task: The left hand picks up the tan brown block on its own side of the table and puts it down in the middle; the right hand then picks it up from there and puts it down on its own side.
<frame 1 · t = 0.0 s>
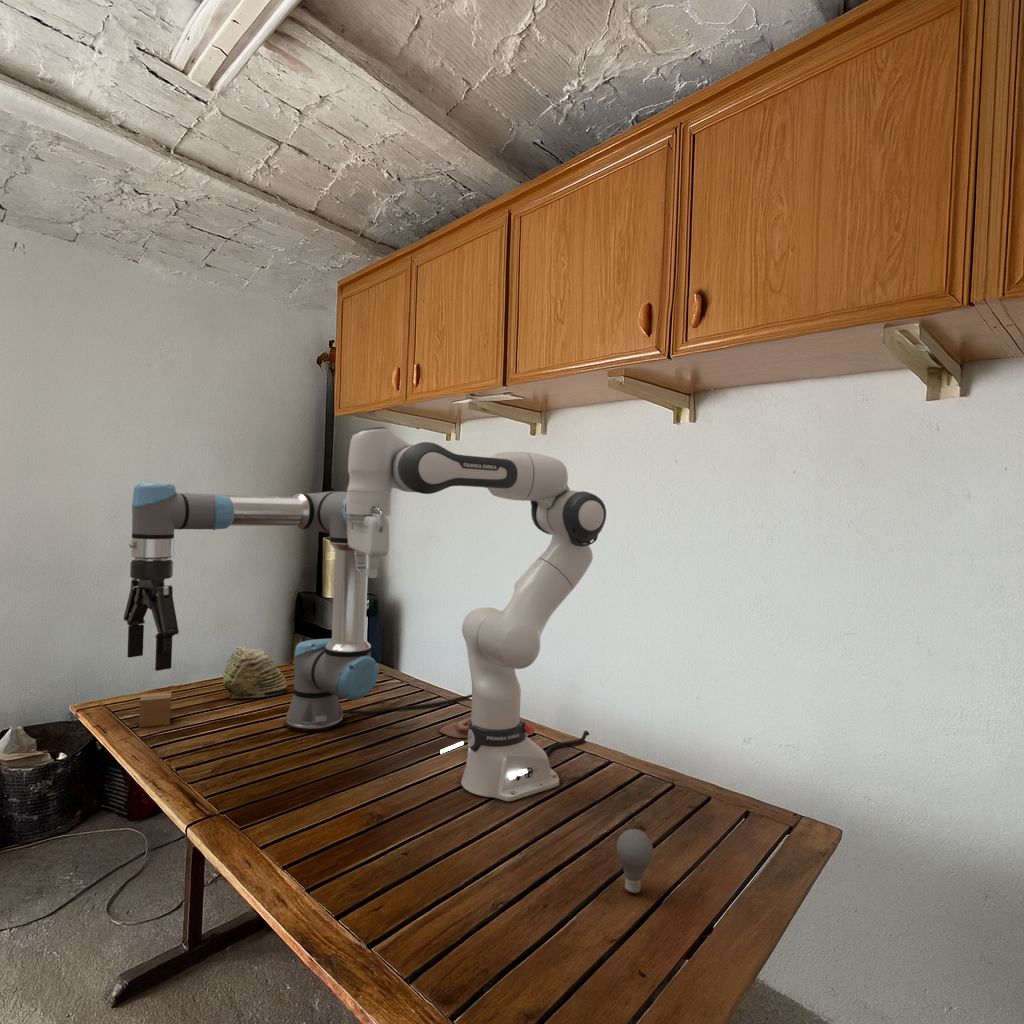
left hand: (148, 662, 129), 28 cm above the table, tool pointing down, fingers open, 13 cm apart
right hand: (366, 574, 129), 48 cm above the table, tool pointing down, fingers open, 8 cm apart
fossil: (254, 694, 198), on the table
tan brown block: (155, 723, 171), on the table
light bulb: (632, 891, 106), on the table
anatomical model: (465, 731, 175), on the table
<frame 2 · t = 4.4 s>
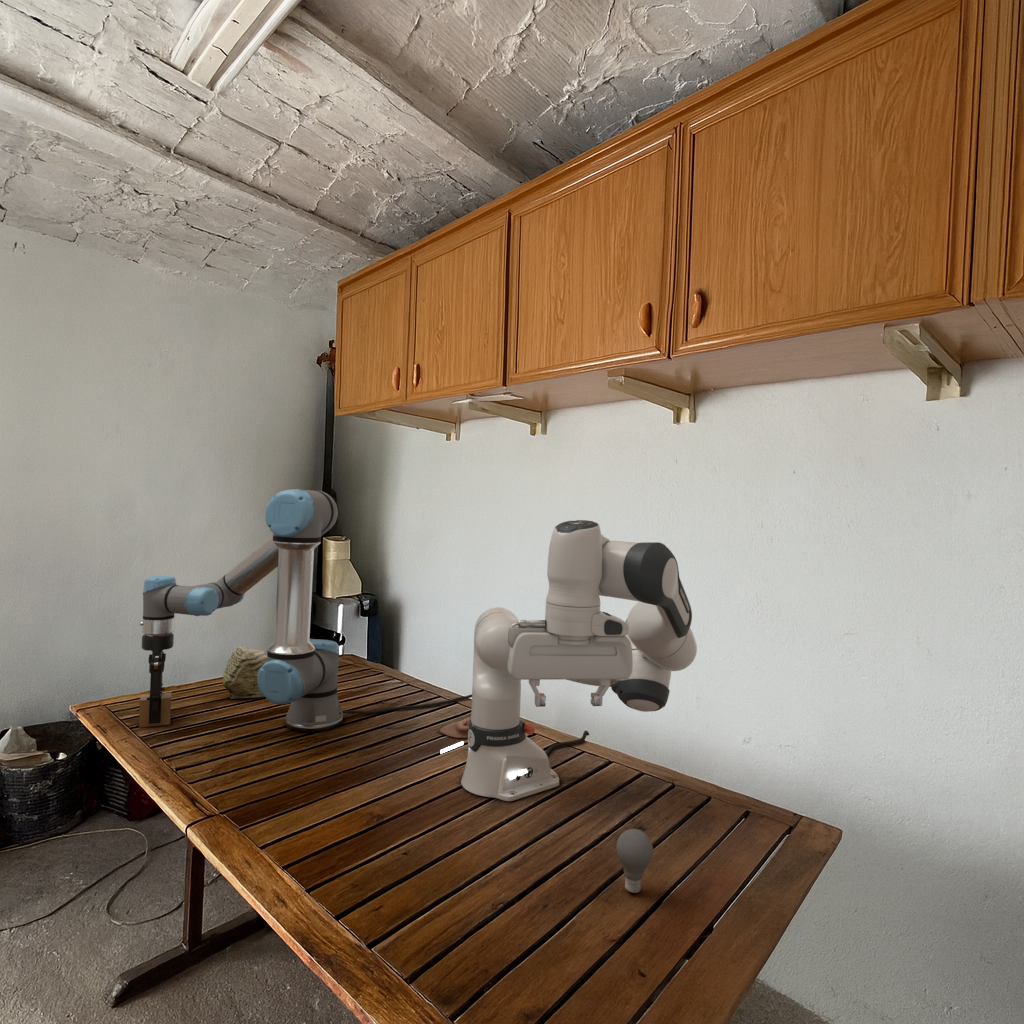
left hand: (155, 719, 171), 1 cm above the table, tool pointing down, fingers closed on tan brown block, 5 cm apart
right hand: (568, 705, 103), 32 cm above the table, tool pointing down, fingers open, 8 cm apart
tan brown block: (155, 723, 171), on the table, touching left hand
everything else where it was.
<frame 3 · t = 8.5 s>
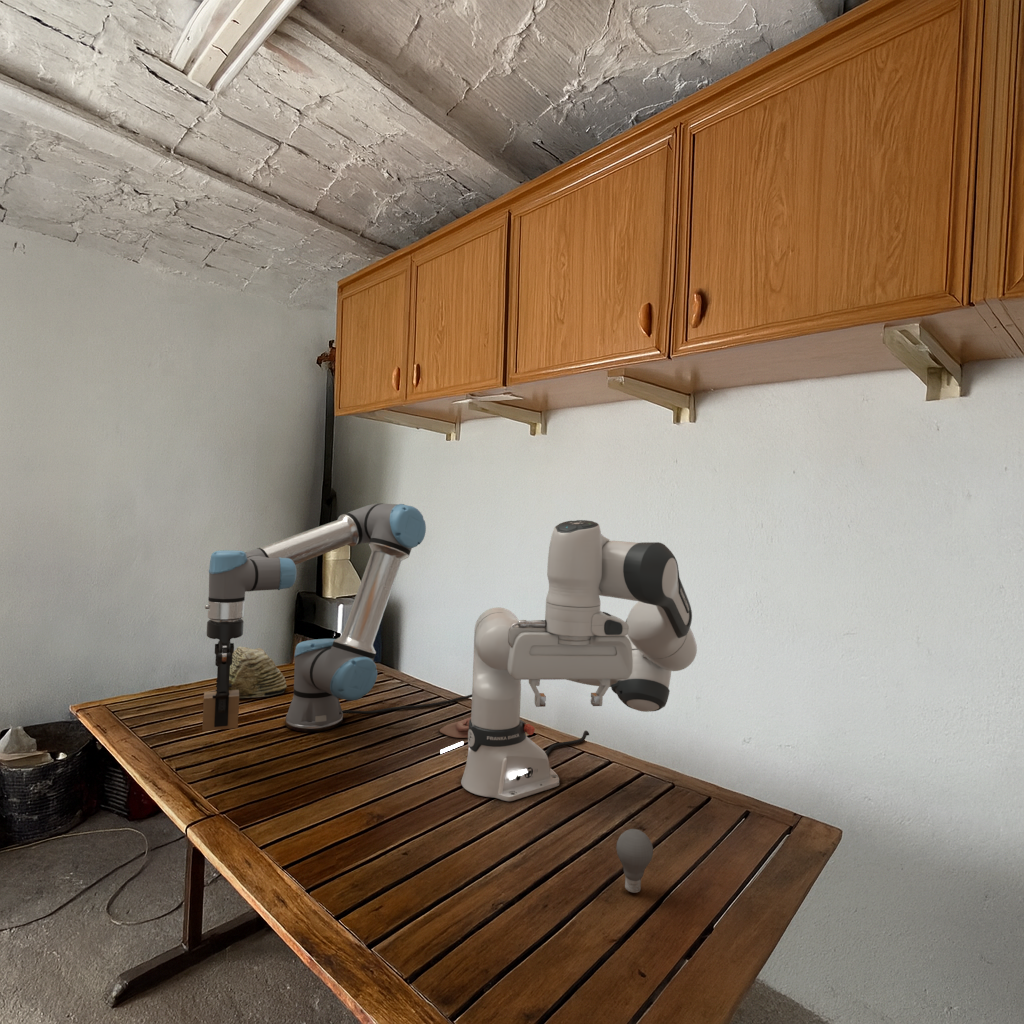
left hand: (221, 721, 143), 12 cm above the table, tool pointing down, fingers closed on tan brown block, 5 cm apart
right hand: (568, 705, 103), 32 cm above the table, tool pointing down, fingers open, 8 cm apart
tan brown block: (220, 726, 143), point 10 cm above the table, touching left hand
everything else where it was.
when the left hand's fingers open (2 cm above the table, at t = 12.6 s): tan brown block drops 1 cm, on the table.
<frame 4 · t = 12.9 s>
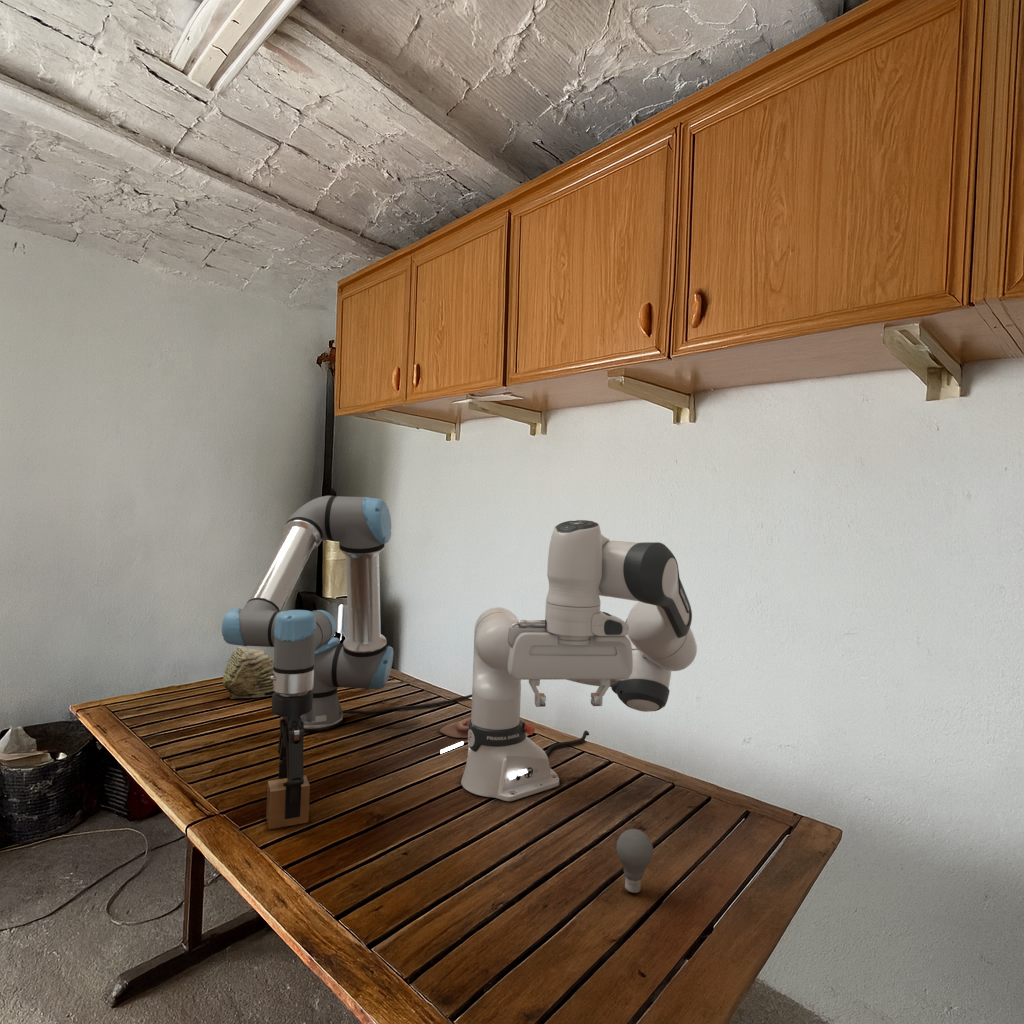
left hand: (288, 804, 124), 3 cm above the table, tool pointing down, fingers open, 9 cm apart
right hand: (568, 705, 103), 32 cm above the table, tool pointing down, fingers open, 8 cm apart
tan brown block: (287, 820, 124), on the table
everything else where it was.
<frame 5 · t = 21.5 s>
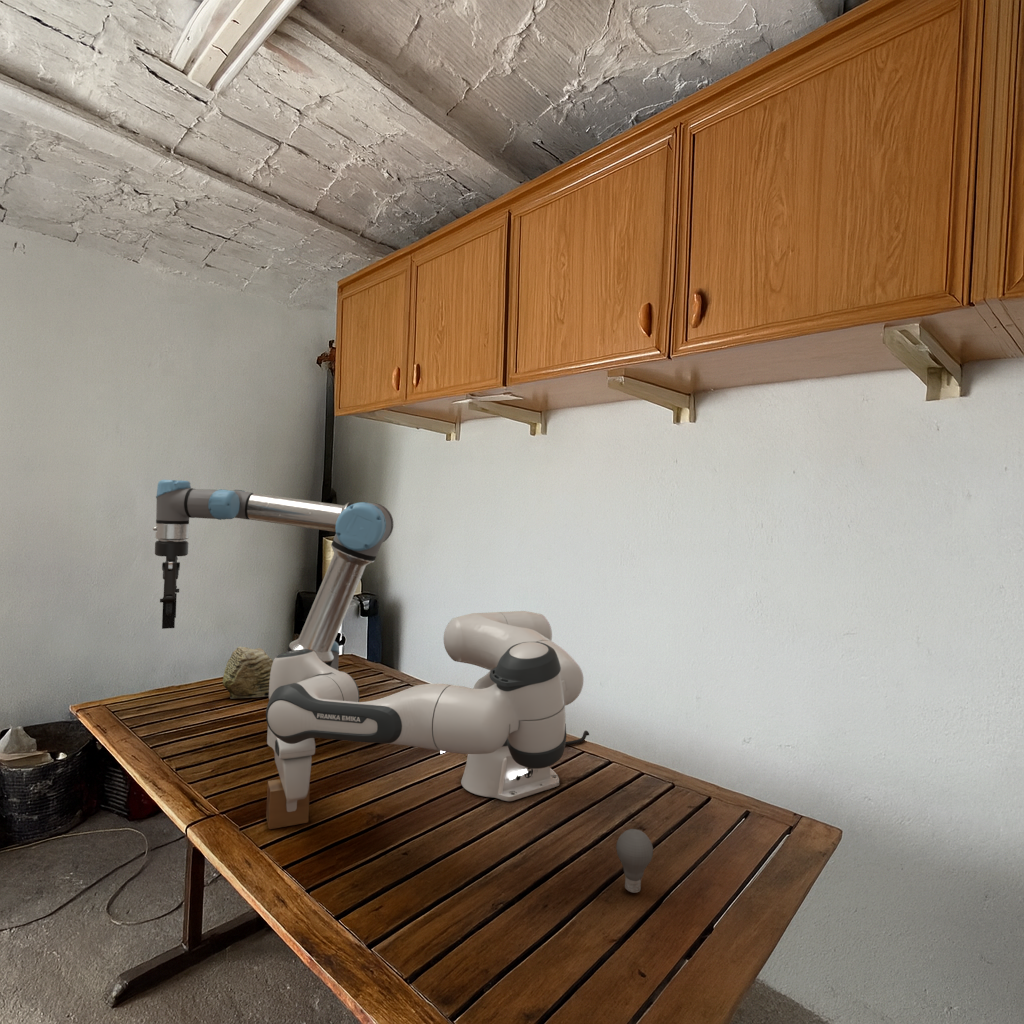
left hand: (169, 623, 162), 29 cm above the table, tool pointing down, fingers open, 13 cm apart
right hand: (288, 802, 124), 3 cm above the table, tool pointing down, fingers closed on tan brown block, 5 cm apart
tan brown block: (287, 820, 124), on the table, touching right hand
everything else where it was.
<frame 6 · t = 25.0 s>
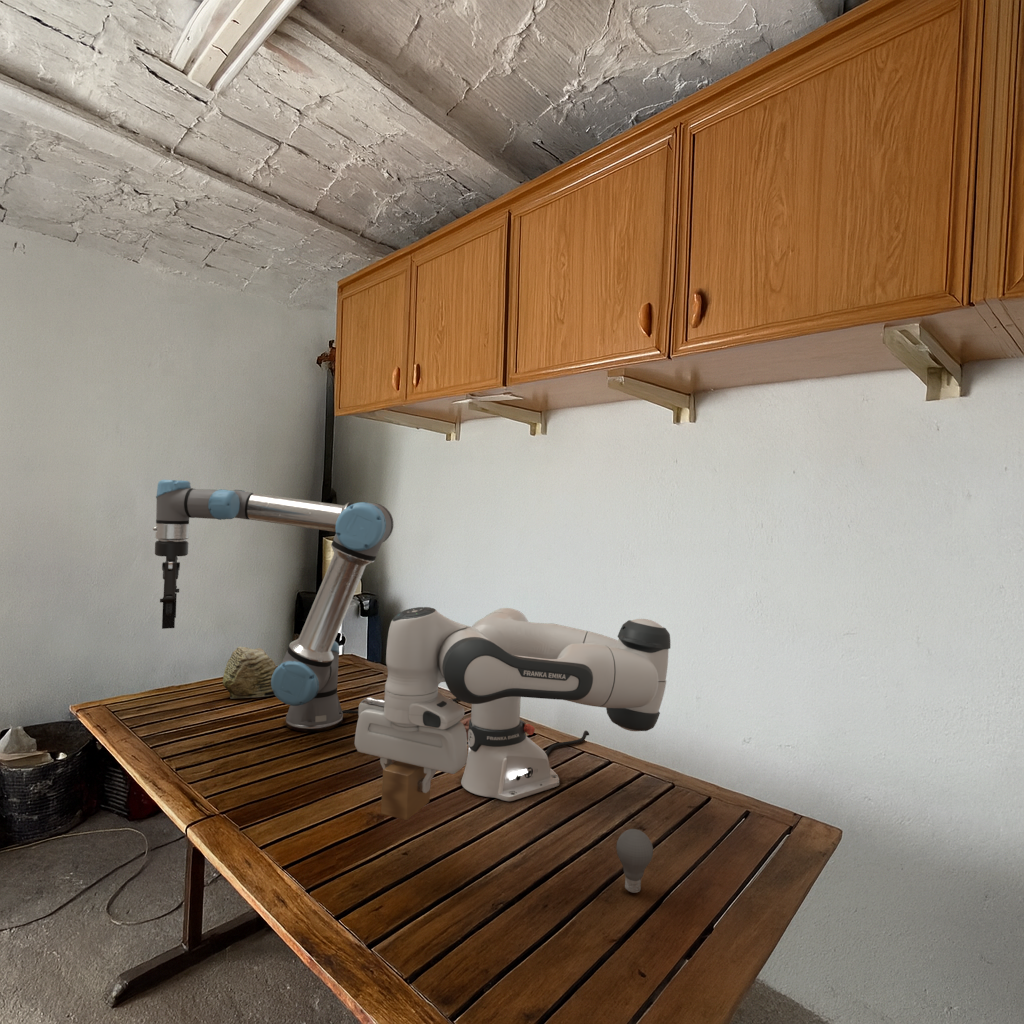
left hand: (169, 623, 162), 29 cm above the table, tool pointing down, fingers open, 13 cm apart
right hand: (407, 787, 106), 16 cm above the table, tool pointing down, fingers closed on tan brown block, 5 cm apart
tan brown block: (405, 807, 106), point 12 cm above the table, touching right hand
everything else where it was.
when the right hand's fingers open (4 cm above the table, at t = 28.7 s): tan brown block drops 1 cm, on the table.
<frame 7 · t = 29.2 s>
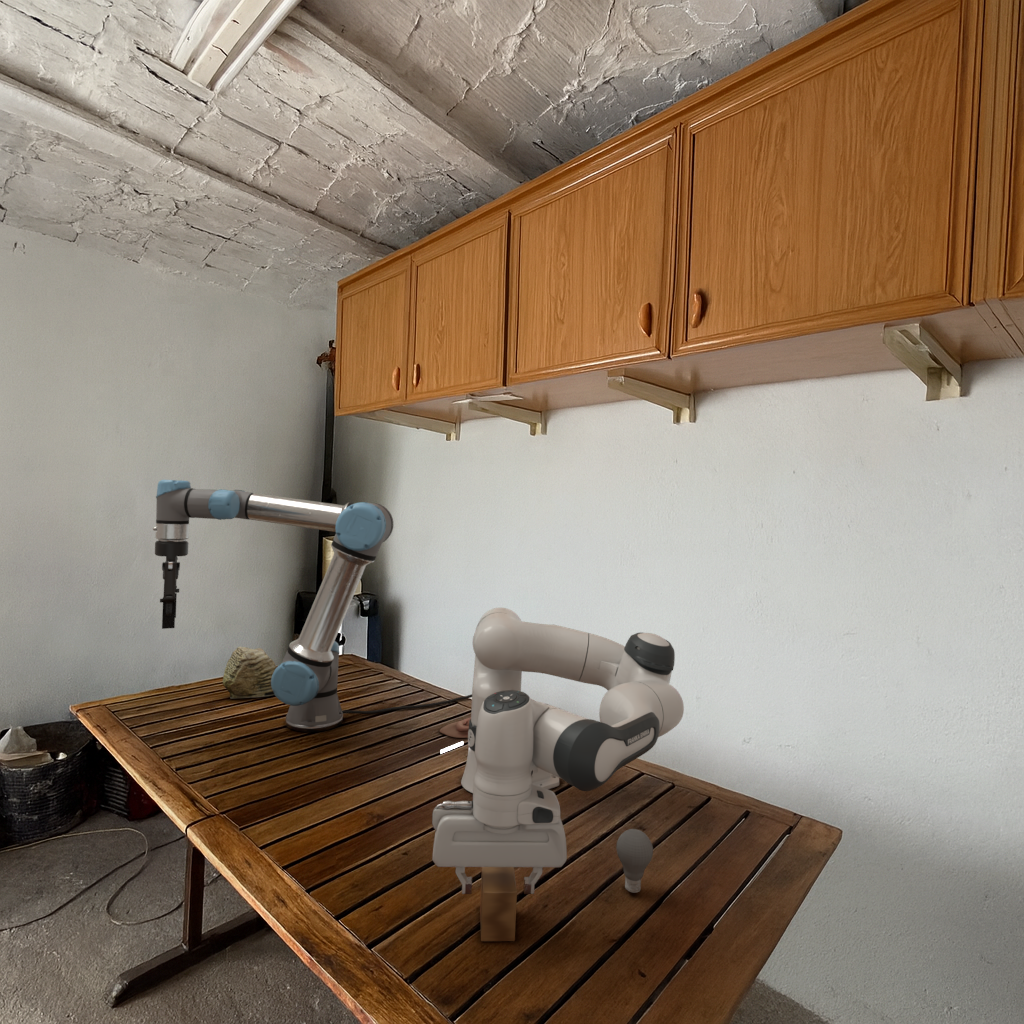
left hand: (169, 623, 162), 29 cm above the table, tool pointing down, fingers open, 13 cm apart
right hand: (497, 891, 96), 5 cm above the table, tool pointing down, fingers open, 8 cm apart
tan brown block: (496, 924, 96), on the table
everything else where it was.
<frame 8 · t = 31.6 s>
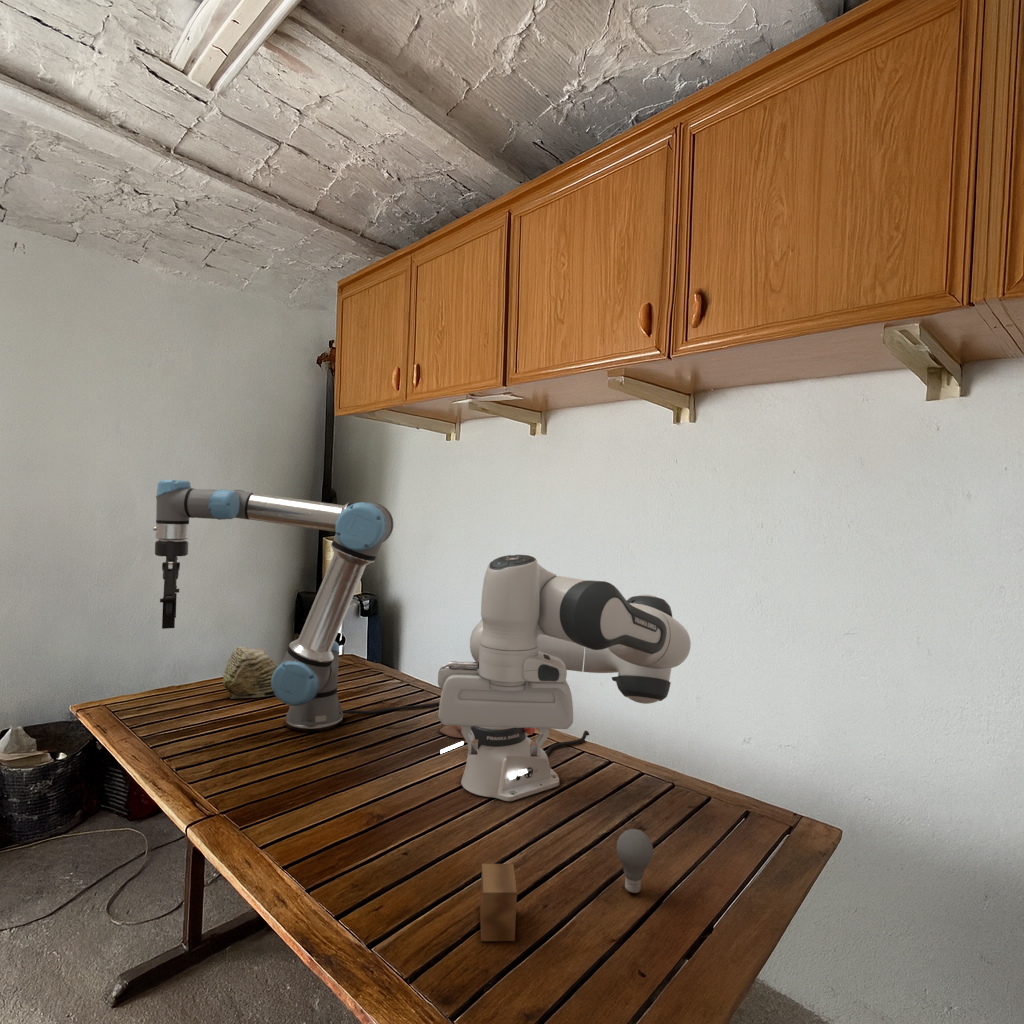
left hand: (169, 623, 162), 29 cm above the table, tool pointing down, fingers open, 13 cm apart
right hand: (503, 754, 96), 26 cm above the table, tool pointing down, fingers open, 8 cm apart
nothing on the table moved.
at the end: tan brown block inside the target area (0.1 cm from its centre), on the table; tan brown block tilted 0°; the two hands never held the tan brown block at the same time; the left hand is holding nothing; the right hand is holding nothing; tan brown block at rest at the end (0.0 cm/s) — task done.
